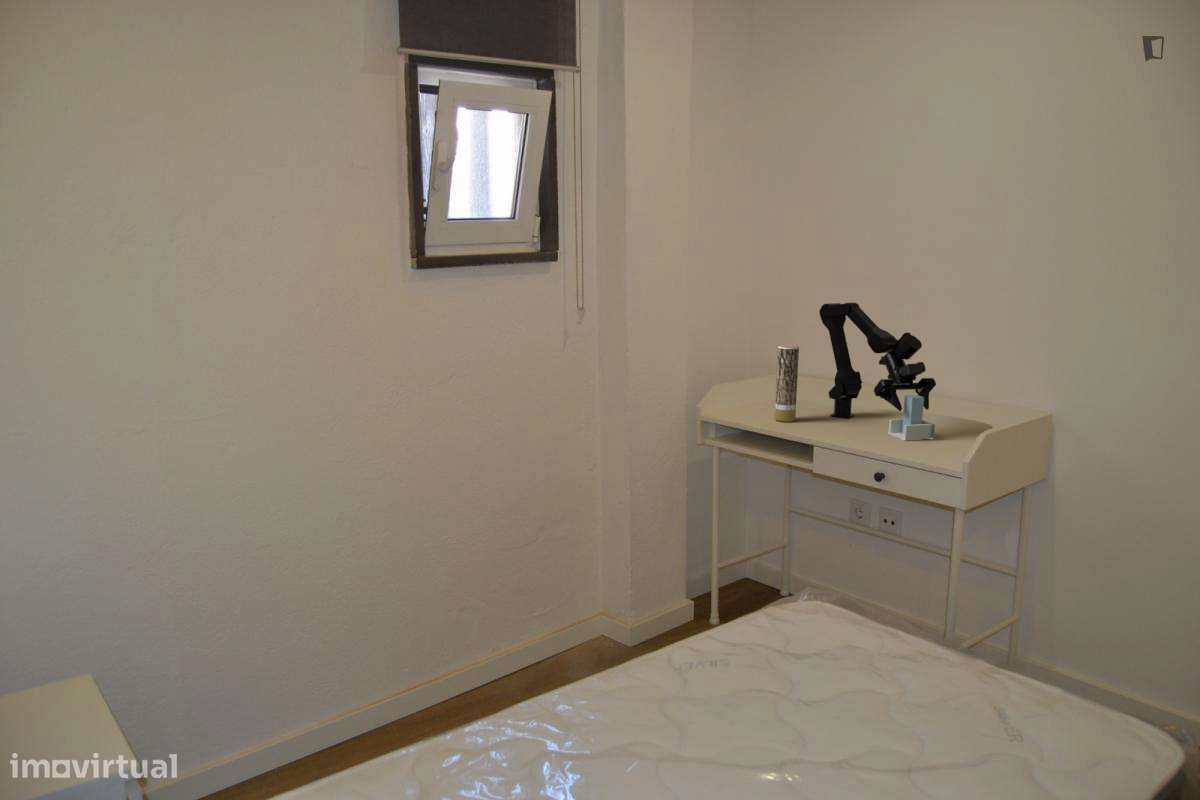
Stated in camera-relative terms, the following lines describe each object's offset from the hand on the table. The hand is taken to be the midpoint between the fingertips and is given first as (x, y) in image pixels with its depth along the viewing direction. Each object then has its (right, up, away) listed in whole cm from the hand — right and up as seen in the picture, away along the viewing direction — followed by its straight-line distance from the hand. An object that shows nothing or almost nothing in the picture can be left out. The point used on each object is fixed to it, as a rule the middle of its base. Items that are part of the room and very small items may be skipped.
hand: (914, 409), depth 267 cm
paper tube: (-35, -4, +24) cm, 42 cm away
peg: (0, -8, +2) cm, 8 cm away
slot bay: (0, -8, +2) cm, 9 cm away
